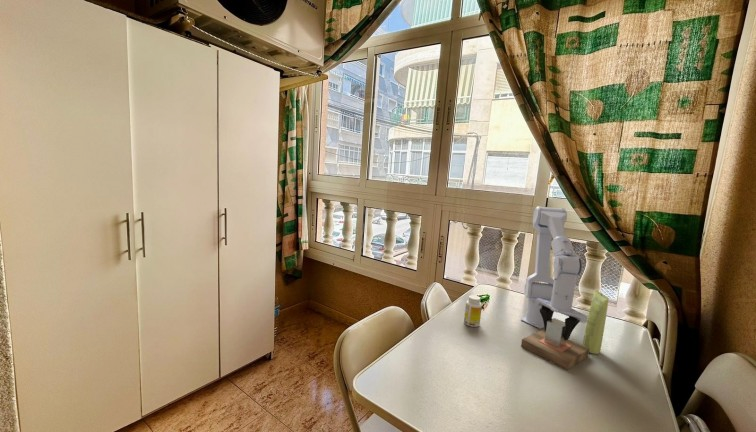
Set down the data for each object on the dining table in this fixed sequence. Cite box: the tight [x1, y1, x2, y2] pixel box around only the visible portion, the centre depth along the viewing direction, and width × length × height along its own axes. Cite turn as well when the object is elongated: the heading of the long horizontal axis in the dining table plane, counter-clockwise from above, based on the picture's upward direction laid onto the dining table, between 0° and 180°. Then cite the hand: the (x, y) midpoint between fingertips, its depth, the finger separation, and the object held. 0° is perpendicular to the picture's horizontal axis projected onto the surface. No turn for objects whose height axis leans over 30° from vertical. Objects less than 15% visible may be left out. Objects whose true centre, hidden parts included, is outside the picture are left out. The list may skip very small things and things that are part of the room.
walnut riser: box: [520, 328, 590, 371], centre depth 99 cm, size 14×14×3 cm
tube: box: [581, 288, 610, 355], centre depth 100 cm, size 6×5×20 cm
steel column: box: [544, 317, 567, 348], centre depth 98 cm, size 4×4×7 cm
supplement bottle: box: [463, 294, 483, 328], centre depth 113 cm, size 6×6×10 cm
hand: (556, 334), depth 98 cm, fingers open, 5 cm apart
